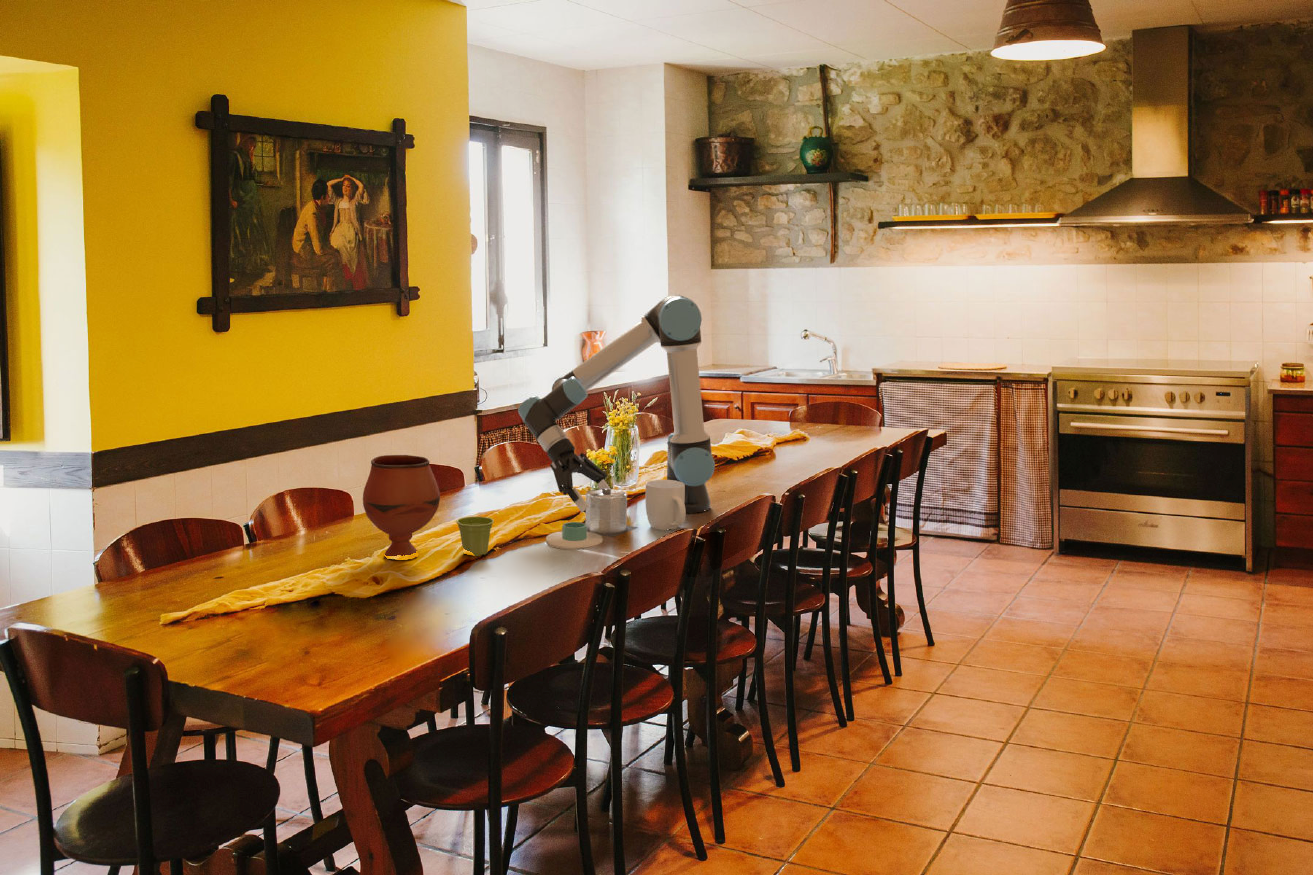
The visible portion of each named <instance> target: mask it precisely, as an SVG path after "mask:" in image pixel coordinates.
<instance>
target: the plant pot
mask: <svg viewBox="0 0 1313 875" xmlns="http://www.w3.org/2000/svg"><path fill="white" fill-rule="evenodd" d="M494 521H495V520H494V519H493V518H491V517H486V516H466V517H460V518H458V519H457V520H456V524H457V526H458V527H457V528H458V529H459V534H460V540H461V547H463V548H464V549H465V550H467V551H470V552H472V553H473V554H474V555H475V556H474V557H480V556H482V555H486V554H488V549H489V542H490V535H491V530H492V526H493V524H494ZM463 548H462V549H463Z"/></svg>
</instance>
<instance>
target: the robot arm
mask: <svg viewBox="0 0 1313 875" xmlns="http://www.w3.org/2000/svg"><path fill="white" fill-rule="evenodd" d="M702 320H703V318H702V313H701V310H700V308H699V307H698V305H697V304H696V303H695V302H694V301H693V300H692V299H690V298H688V297H686V296H683V295H680V294H671V295H667V296H666V297H664V298H663V299H662V300H660V301H659V302H658V303H657V304H656V305H655V306H653V307H652V308H651V309H650V310H648V311H647V312H646V313H645V314H644V315H642V316H641V320H640V322H638V323H637V324H635V325H634V326H632V327H631V328H629V329H628V330H626V331H625V332H624V333H622V334H621V335H620V336H619V337H617V338H616V339H614V340H613V341H611V342H610V343H609V344H607V345H606V346H604V347H603V348H601V349H600V350H599V351H597V352H596V353H595V354H593V355H592V356H591V357H588V359H586V360H585V361H584V362H582V363H580V364H579V365H577V366H576V367H575V368H574V369H573V368H572V370H571V371H570V372H568V373H567V374H565V375H564V376H561V377H559V378H558V379H556V380H555V381H554V382H553V384H552V386H551V392H549V393H548V394H546V395H545V396H544V397H543V398H540V397H539V396H537V395H533V396H530V397H528V398H527V399H525V400H524V401H523V402H522V403H520V404H519V406H518V408H517V411H518V412H517V413H518V415H519V417H520V418H521V419H522V422H523V424H525V426H526V428H527V429H528V430H529V431H530V433H531V434H532V436H533V437H534V438H535V439H536V441H537V442H538V443H539V445H540V446H541V448H542V450H543V452H545V453H546V455H547V457H548V458H549V460H550V461H551V463H550V465H549V467H550V469H551V470H552V471H553V475H554V478H555V482H556V486H557V488H558V492H559V493H561V494H562V495H564V496H566V495H568V497H569V498H570V499H571V501H572V502H574V504H575V505H576V507H577V508H578V510H579V511H580V512H581V513H584V512H586V509H587V508H588V507H589V506H588V504H587V503H586V499H585V498H584V497H583V495H582V494H581V493H580V492H579V490H578V489H577V487H574V486H573V485H574V484H573V473H577V474H581V475H583V476H585V477H586V478H588V479H589V480H592V481H593V482H594V483H596V486H597V488H598V489H604V488H609V489H611V487H610V485H609V484H608V482H607V481H606V479H607V476H608V474H607V473H606V472H605V471H604V470H603V469H601V468H600V467H599V466H597V465H596V464H595V463H594V462H593V461H592V460H591V459H589V457H587V455H586V454H585V453H584V452H581V453H580V454H578V455H577V454H576V453H575V446H574V444H573V443H572V441H571V440H570V438H567V434H566V433H565V431H564V430H563V429H562V428H561V426H560V425H559V424H558V422H557V421H559V420H560V419H561V418H562V417H564V416H565V415H566V414H567V413H569V412H571V410H573V409H574V408H576V407H577V406H579V405H580V404H582V402H583V401H584V400H585V399H587V397H588V396H589V393H588V392H589V390H590V389H592V388H593V387H595V386H596V385H597V384H598V383H600V382H602V381H603V380H605V379H606V378H608V377H609V376H610V375H611V374H613V373H614V372H616V371H618V370H619V369H620V368H622V367H623V366H625V365H626V364H627V363H629V362H631V361H632V360H633V359H634V358H635V357H638V356H639V355H640V354H641V353H643V352H644V351H646V350H647V349H649V348H650V347H651V346H653V345H655V344H656V343H658V344H660V347H661V348H662V349H663V350H664V351H665V352H666V358H667V369H668V379H669V388H670V390H669V391H670V400H671V401H670V402H671V408H672V420H673V429H674V430H673V431H674V432H672V433H670V434H669V435H668V437H667V442H666V444H667V459H666V460H667V461H666V462H667V463H666V480H674V481H679V482H682V483H684V484H685V502H684V505H685V510H686V514H697V512H699V513H702V512H701V511H704V510H708V509H709V508H710V509H711V499H710V496H709V492H708V490H707V486H706V483H707V482H708V481H710V480H711V478H712V476H713V474H714V472H715V465H716V462H715V460H714V457H713V454H712V442H711V435H709V434H708V433H707V432H706V430H705V422H704V415H703V414H704V412H703V404H702V402H703V401H702V391H701V381H700V379H701V378H700V372H699V371H700V369H699V368H700V367H699V360H698V347H699V346H700V345H701V343H702V335H701V334H702V333H701V332H702V330H701V326H702ZM710 509H709V510H710ZM709 510H708V511H709Z"/></svg>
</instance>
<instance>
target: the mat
mask: <svg viewBox="0 0 1313 875" xmlns="http://www.w3.org/2000/svg"><path fill="white" fill-rule="evenodd" d="M636 529H638V526H632V525H627V524H626V531H623V532H621V533H614V534H599V533H596V534H599V535H601V536H602V537H603V536H604V537H609V538H614V537H617V536H619V535H622V534H625V533H627V532H631V531H633V530H636ZM587 532H589V531H588V530H587Z"/></svg>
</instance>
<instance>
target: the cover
mask: <svg viewBox="0 0 1313 875" xmlns="http://www.w3.org/2000/svg"><path fill="white" fill-rule="evenodd" d="M627 497H628V492H626V491H624V490H620V489H616V488H615V489H613V488H610V489H609V488H604V489H599V488H598V489H597V488H596V489H592V490H588V491H586V493H585V501H586V503H587V504H588V506H589V507H588V508H587V509H586V510H585V521H584V523H585V524H587V530H588V531H589V532H593V533H599V534H614V533H621V532H623V531H626V525H627V516H628V515H627V514H628V513H627V511H628V510H627V508H628V507H627V506H628V498H627Z"/></svg>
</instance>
